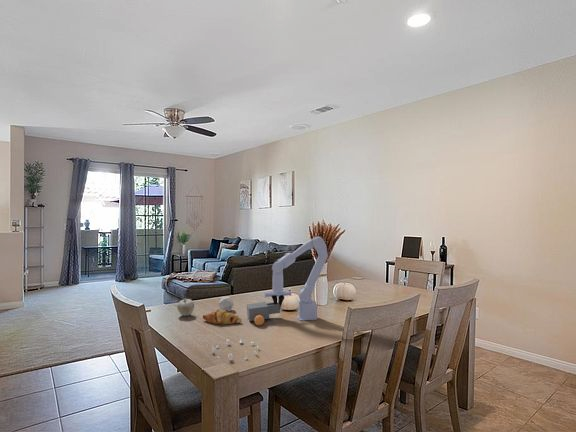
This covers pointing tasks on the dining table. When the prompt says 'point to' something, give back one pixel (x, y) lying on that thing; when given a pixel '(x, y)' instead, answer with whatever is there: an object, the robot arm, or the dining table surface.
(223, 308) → the die
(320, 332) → the dining table surface
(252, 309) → the grey stepped block
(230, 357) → the game piece set
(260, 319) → the egg
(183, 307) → the decorative object
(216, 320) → the croissant
